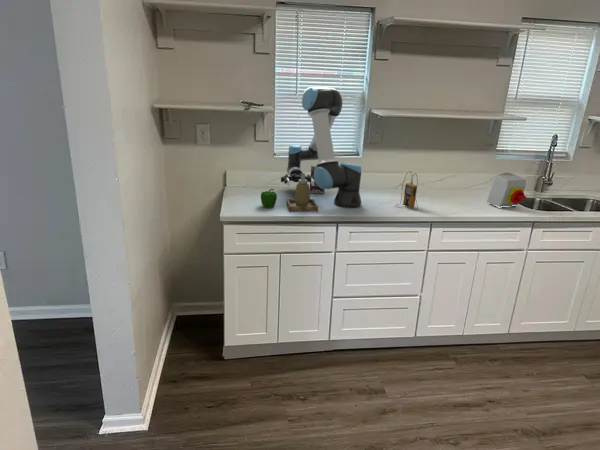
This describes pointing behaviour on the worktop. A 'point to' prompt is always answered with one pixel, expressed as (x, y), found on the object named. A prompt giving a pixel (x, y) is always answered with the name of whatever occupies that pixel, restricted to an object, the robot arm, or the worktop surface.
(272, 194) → the bell pepper
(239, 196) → the worktop surface
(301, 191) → the squeeze bottle
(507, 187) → the electrical switch box
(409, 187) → the multimeter
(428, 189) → the worktop surface
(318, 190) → the supplement box
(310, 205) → the walnut tray
